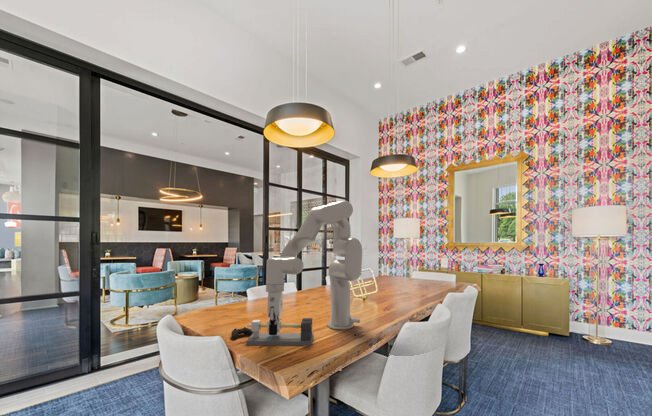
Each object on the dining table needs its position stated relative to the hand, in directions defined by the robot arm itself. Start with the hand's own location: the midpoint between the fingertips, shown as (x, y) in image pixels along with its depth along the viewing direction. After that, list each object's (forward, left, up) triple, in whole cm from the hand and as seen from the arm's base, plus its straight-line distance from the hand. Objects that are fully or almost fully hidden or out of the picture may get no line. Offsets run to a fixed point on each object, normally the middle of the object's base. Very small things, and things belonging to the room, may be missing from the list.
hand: (274, 332), depth 119 cm
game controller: (+15, -5, -4) cm, 16 cm away
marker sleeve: (0, 0, +1) cm, 1 cm away
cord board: (-3, 0, -3) cm, 4 cm away
